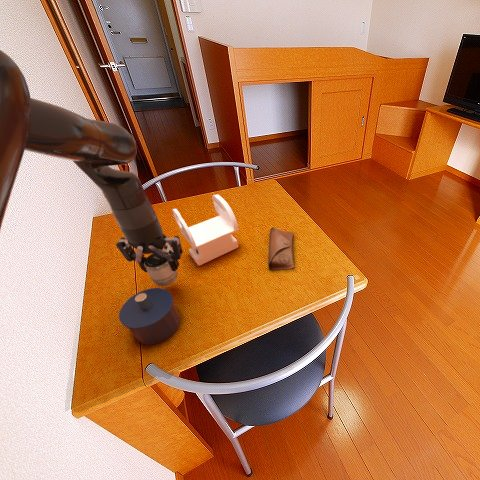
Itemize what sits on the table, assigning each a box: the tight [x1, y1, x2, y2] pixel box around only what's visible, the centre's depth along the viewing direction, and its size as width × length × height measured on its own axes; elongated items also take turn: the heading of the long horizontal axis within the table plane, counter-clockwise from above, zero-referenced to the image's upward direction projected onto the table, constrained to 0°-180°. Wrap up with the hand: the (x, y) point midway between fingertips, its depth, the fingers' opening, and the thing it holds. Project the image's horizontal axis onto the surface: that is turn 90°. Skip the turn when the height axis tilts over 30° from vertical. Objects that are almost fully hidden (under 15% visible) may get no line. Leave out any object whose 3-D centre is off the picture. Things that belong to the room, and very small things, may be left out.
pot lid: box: [118, 287, 174, 329], centre depth 64 cm, size 11×11×5 cm
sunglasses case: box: [267, 226, 295, 271], centre depth 91 cm, size 18×7×7 cm
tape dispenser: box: [171, 193, 240, 267], centre depth 86 cm, size 14×13×18 cm
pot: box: [128, 302, 181, 345], centre depth 67 cm, size 10×10×8 cm
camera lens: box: [144, 253, 178, 287], centre depth 72 cm, size 6×6×8 cm
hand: (162, 269), depth 73 cm, fingers closed on camera lens, 6 cm apart
